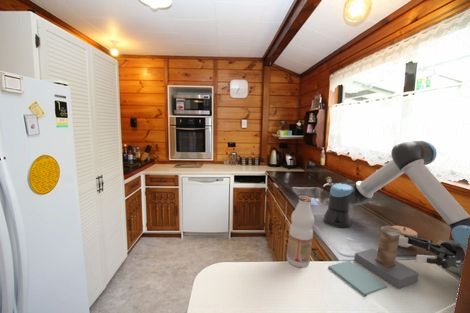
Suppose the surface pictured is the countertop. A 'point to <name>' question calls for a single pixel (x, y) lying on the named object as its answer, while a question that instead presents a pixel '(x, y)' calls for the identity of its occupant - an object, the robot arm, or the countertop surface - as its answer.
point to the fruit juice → (301, 234)
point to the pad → (357, 277)
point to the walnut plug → (388, 246)
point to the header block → (387, 269)
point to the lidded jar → (405, 232)
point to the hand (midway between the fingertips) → (403, 248)
